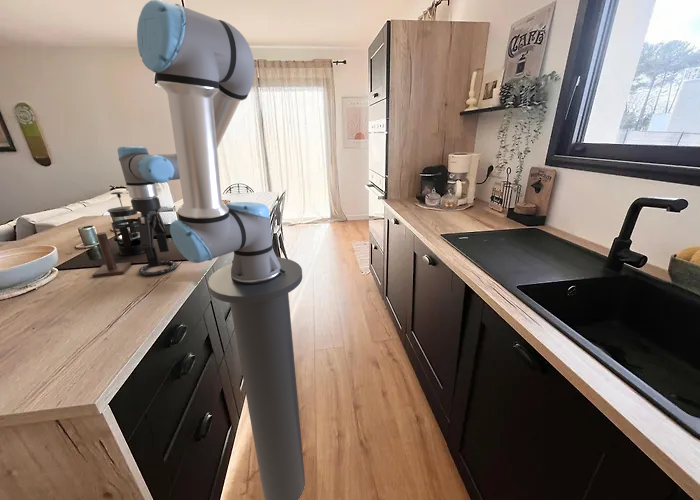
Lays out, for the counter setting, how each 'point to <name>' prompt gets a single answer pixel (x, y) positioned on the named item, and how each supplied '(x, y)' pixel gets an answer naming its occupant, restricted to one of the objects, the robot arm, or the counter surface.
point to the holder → (109, 259)
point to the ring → (157, 271)
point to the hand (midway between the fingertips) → (159, 258)
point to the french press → (129, 239)
